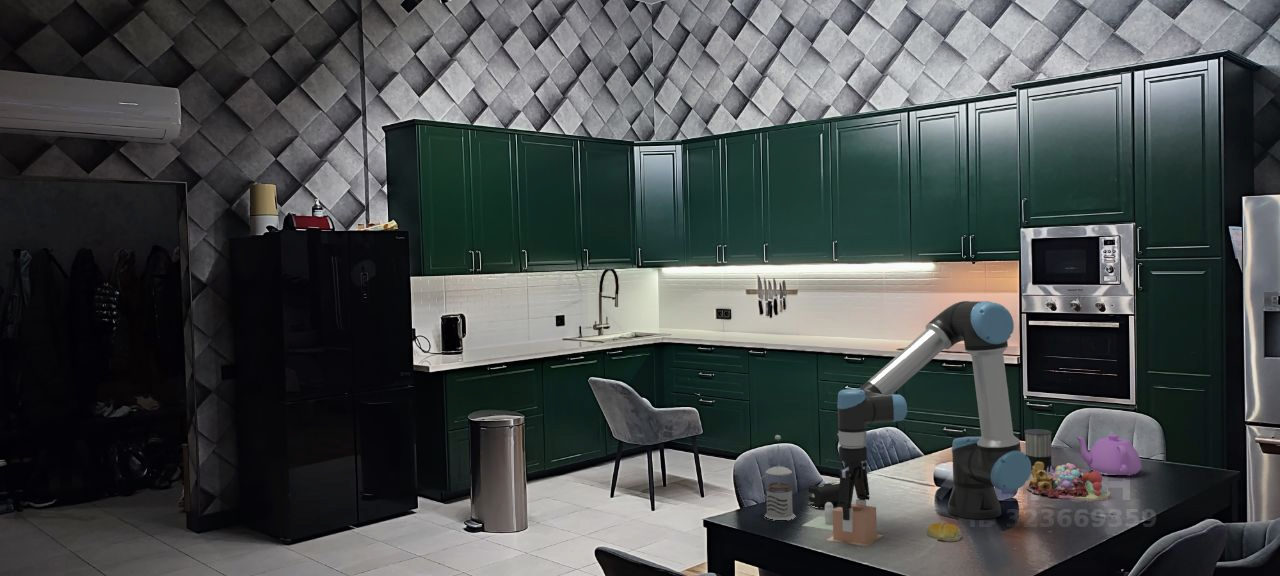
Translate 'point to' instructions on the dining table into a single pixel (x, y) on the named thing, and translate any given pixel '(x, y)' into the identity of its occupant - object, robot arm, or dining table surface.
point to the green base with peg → (823, 519)
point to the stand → (858, 543)
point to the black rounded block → (824, 494)
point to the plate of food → (1067, 483)
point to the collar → (856, 524)
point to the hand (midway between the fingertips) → (854, 527)
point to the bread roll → (944, 532)
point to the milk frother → (1038, 447)
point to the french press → (778, 494)
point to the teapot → (1111, 456)
